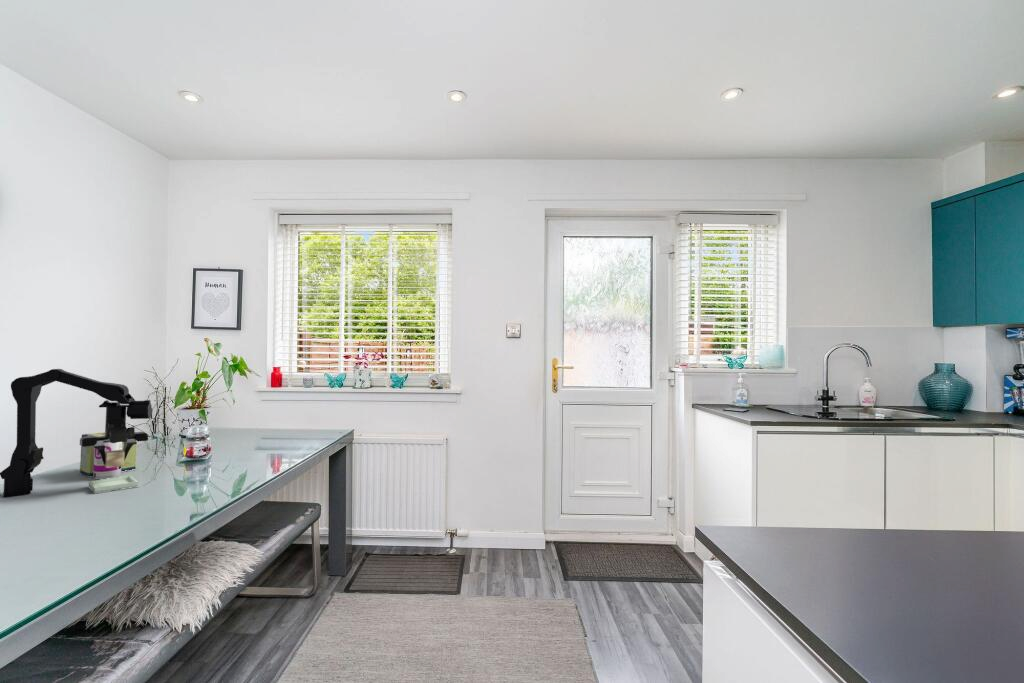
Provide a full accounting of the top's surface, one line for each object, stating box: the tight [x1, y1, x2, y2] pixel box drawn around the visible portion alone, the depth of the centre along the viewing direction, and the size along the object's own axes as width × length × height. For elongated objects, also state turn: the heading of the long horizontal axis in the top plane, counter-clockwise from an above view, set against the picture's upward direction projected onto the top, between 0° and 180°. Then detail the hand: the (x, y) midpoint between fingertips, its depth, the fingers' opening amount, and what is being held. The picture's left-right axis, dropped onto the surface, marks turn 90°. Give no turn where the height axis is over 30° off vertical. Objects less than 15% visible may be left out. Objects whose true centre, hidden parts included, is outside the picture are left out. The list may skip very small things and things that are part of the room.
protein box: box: [79, 431, 138, 478], centre depth 199 cm, size 10×16×16 cm
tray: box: [88, 475, 139, 494], centre depth 177 cm, size 12×12×2 cm
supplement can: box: [92, 442, 122, 480], centre depth 190 cm, size 8×8×15 cm
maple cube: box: [104, 450, 125, 468], centre depth 177 cm, size 5×5×5 cm
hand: (113, 462), depth 177 cm, fingers closed on maple cube, 5 cm apart
